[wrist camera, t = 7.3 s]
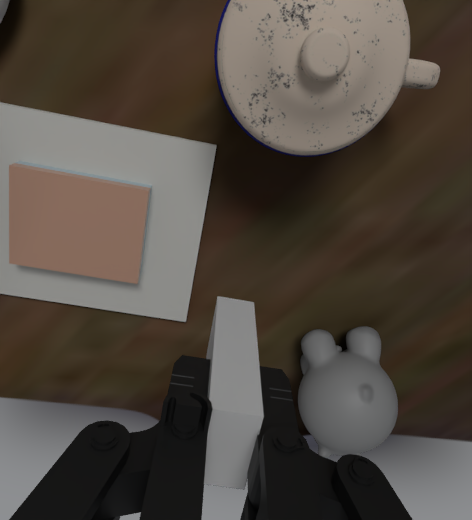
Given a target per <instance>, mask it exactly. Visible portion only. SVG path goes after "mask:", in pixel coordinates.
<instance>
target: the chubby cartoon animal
mask: <svg viewBox="0 0 472 520" xmlns="http://www.w3.org/2000/svg"><path fill="white" fill-rule="evenodd" d="M346 345H347V349H346V350H344V351H343V352H342V348H341V347H340V346H337V345H335V341H334V338H333V336H332V335H331V334H330V333H329V332H327V331H325V330H321V329H316V330H312V331H310V332H308V333H307V334H306V335H305V336H304V337H303V338H302V340H301V348H302V351H303V355H302V356H301V359H300V364H301V369H302V372H303V374H304V376H303V378H302V380H301V383H300V387H299V391H298V407H299V412H300V415H301V418H302V421H303V423H304V425H305V426H306V428H307V430H308V431H309V432H310V434H311V435H312V436H313V437H314V439H315V441H316V443H317V444H318V455H320V456H322V457H325V458H327V459H328V457H329V456H330V455H348V454H354V455H360V456H361V453H363V452H367V451H369V450H372V449H374V448H375V447H377V446H379V445H380V444H381V443H382V442H383V441H385V439H386V438H387V437H388V436H389V435H390V433H391V431H392V429H393V427H394V425H395V422H396V419H397V413H398V400H397V395H396V391H395V388H394V386H393V383H392V381H391V380H390V378H389V376H388V375H387V374H386V372H385V371H384V370H383V369H382V368H381V366H380V363H379V359H380V354H381V340H380V336H379V334H378V332H377V331H376V330H374V329H373V328H371V327H366V326H362V327H357V328H354V329H352V330H350V331H349V332H348V333H347V335H346Z"/></svg>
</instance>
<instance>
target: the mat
mask: <svg viewBox="0 0 472 520" xmlns="http://www.w3.org/2000/svg"><path fill="white" fill-rule="evenodd" d="M216 147H217V145H215V144H210V143H205V142H199V141H194V140H189V139H184V138H179V137H174V136H169V135H164V134H159V133H154V132H149V131H144V130H139V129H133V128H128V127H123V126H118V125H113V124H108V123H103V122H98V121H93V120H88V119H83V118H78V117H73V116H68V115H62V114H57V113H52V112H47V111H42V110H37V109H32V108H27V107H22V106H17V105H12V104H7V103H2V102H0V294H6V295H13V296H19V297H26V298H32V299H39V300H45V301H52V302H58V303H65V304H71V305H78V306H84V307H91V308H97V309H104V310H110V311H117V312H123V313H130V314H136V315H143V316H149V317H156V318H162V319H169V320H175V321H182V322H186V318H187V312H188V307H189V301H190V295H191V289H192V284H193V278H194V272H195V267H196V261H197V255H198V250H199V244H200V238H201V233H202V227H203V221H204V215H205V210H206V204H207V198H208V193H209V187H210V181H211V176H212V170H213V164H214V158H215V153H216ZM18 161H23V162H29V163H34V164H39V165H45V166H50V167H56V168H61V169H66V170H72V171H77V172H83V173H88V174H94V175H99V176H104V177H110V178H115V179H121V180H126V181H131V182H137V183H142V184H148V185H152V192H151V200H150V208H149V216H148V224H147V232H146V240H145V248H144V256H143V264H142V272H141V277H140V279H139V281H138V284H134V283H128V282H121V281H115V280H109V279H103V278H97V277H90V276H84V275H78V274H72V273H65V272H59V271H53V270H47V269H41V268H34V267H28V266H22V265H16V264H10V263H9V165H11V164H13V163H15V162H18Z"/></svg>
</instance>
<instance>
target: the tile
mask: <svg viewBox="0 0 472 520" xmlns="http://www.w3.org/2000/svg"><path fill="white" fill-rule="evenodd" d="M151 192H152V185H148V184H142V183H137V182H131V181H126V180H121V179H115V178H110V177H104V176H99V175H94V174H88V173H83V172H77V171H72V170H66V169H61V168H56V167H50V166H45V165H39V164H34V163H29V162H23V161H18V162H15V163H13V164H11V165H9V263H10V264H16V265H22V266H28V267H34V268H41V269H47V270H53V271H59V272H65V273H72V274H78V275H84V276H90V277H97V278H103V279H109V280H115V281H121V282H128V283H134V284H138V281H139V279H140V277H141V272H142V264H143V256H144V248H145V240H146V232H147V224H148V216H149V208H150V200H151Z"/></svg>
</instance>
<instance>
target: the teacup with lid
mask: <svg viewBox="0 0 472 520" xmlns="http://www.w3.org/2000/svg"><path fill="white" fill-rule="evenodd" d="M409 53H410V28H409V22H408V16H407V12H406V8H405V5H404V3H403V0H228V1H227V3H226V5H225V8H224V10H223V12H222V15H221V18H220V22H219V25H218V29H217V34H216V41H215V70H216V77H217V82H218V86H219V89H220V92H221V95H222V98H223V100H224V102H225V105H226V107H227V108H228V110H229V112H230V114H231V115H232V117H233V118H234V120H235V121H236V122H237V124H238V125H239V126H240V127H241V128H242V129H243V130H244V131H245V132H246V133H247V134H248V135H249V136H250V137H251V138H253V139H254V140H255V141H257V142H258V143H260V144H261V145H263V146H265V147H267V148H269V149H271V150H273V151H276V152H279V153H282V154H286V155H291V156H300V157H312V156H320V155H325V154H330V153H333V152H336V151H339V150H341V149H343V148H345V147H348V146H349V145H351V144H353V143H355V142H356V141H358V140H359V139H361V138H362V137H364V136H365V135H366V134H367V133H368V132H370V131H371V130H372V129H373V128H374V127H375V126H376V125H377V124H378V123H379V122H380V120H381V119H382V118H383V117H384V116H385V114H386V113H387V111H388V110H389V109H390V107H391V106H392V104H393V102H394V100H395V99H396V97H397V95H398V93H399V91H400V88H401V87H405V88H417V89H430V88H433V87H434V86H435V85H436V84H437V82H438V78H439V75H440V68H439V66H438V65H437V64H435V63H432V62H428V61H422V60H416V59H409Z"/></svg>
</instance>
